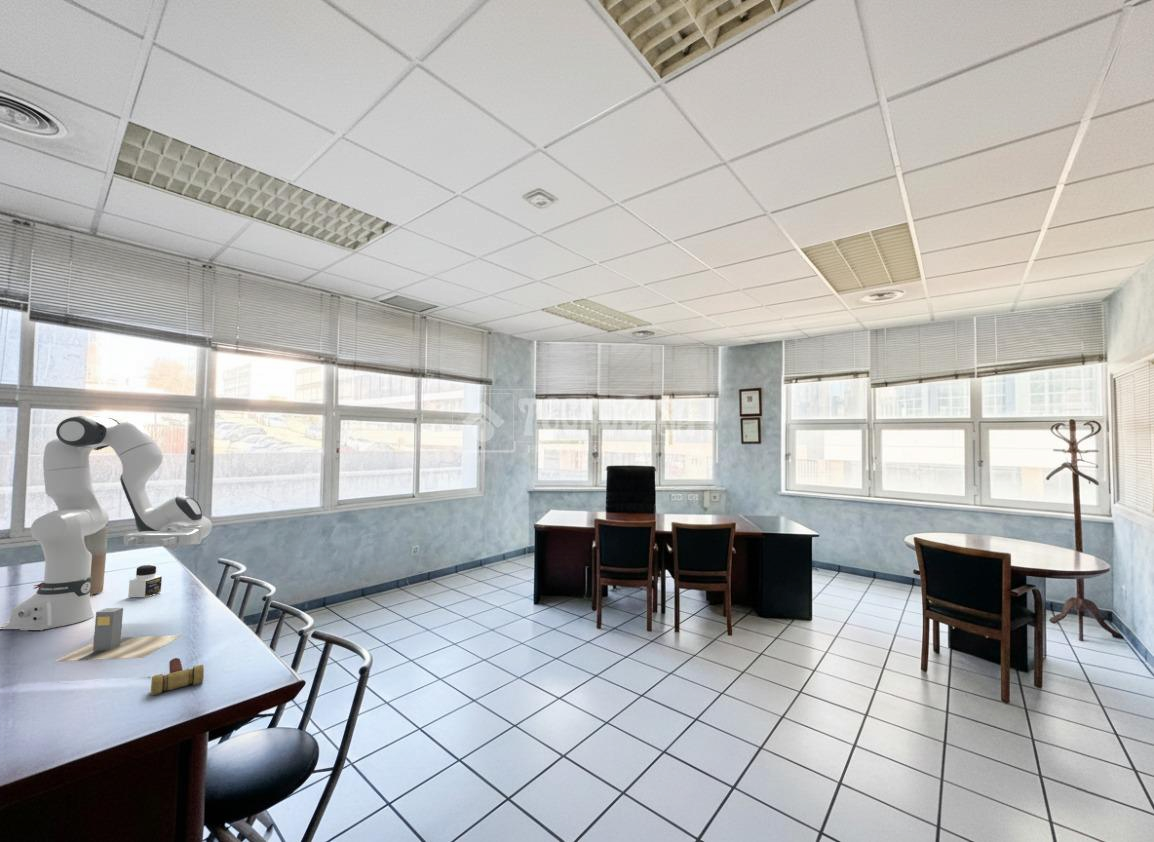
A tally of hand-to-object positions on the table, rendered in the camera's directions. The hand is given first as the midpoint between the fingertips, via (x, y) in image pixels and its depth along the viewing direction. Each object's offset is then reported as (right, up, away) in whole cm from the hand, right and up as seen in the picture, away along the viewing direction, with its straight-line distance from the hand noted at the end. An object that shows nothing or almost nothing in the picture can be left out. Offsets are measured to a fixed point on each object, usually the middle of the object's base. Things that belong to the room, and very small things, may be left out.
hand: (145, 542), depth 151 cm
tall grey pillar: (+1, -28, -14) cm, 31 cm away
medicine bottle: (-36, -32, +39) cm, 62 cm away
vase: (-61, -32, +39) cm, 79 cm away
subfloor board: (+5, -29, -13) cm, 33 cm away
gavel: (+33, -30, -26) cm, 51 cm away
